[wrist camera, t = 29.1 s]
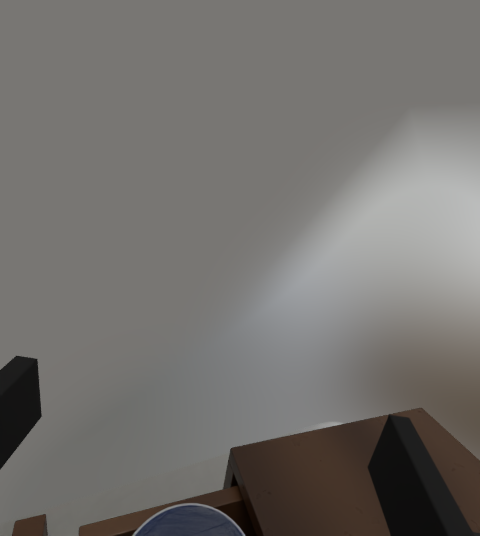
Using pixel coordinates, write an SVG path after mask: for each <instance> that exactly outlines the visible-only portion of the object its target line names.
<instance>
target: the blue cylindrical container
mask: <svg viewBox="0 0 480 536" xmlns="http://www.w3.org/2000/svg"><path fill="white" fill-rule="evenodd" d="M132 536H245V534H244V533H243V531H242V530H241V528H240V527H239V526H238V525H237V524H236V523H235V522H234V521H233V520H232V519H231V518H230V517H229V516H227V515H226V514H224V513H223V512H221V511H220V510H218V509H215V508H213V507H210V506H207V505H203V504H198V503H185V504H178V505H174V506H171V507H168V508H166V509H163V510H161V511H160V512H158V513H156V514H155V515H153V516H152V517H150V518H149V519H148V520H146V521H145V522H144V523H143V524H142V525H141V526H140V527H139V528H138V529H137V530H136V531H135V533H134V534H133V535H132Z"/></svg>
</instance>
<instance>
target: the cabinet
mask: <svg viewBox="0 0 480 536" xmlns="http://www.w3.org/2000/svg"><path fill="white" fill-rule="evenodd" d="M389 415H396V416H402V417H408V418H410V420H411V422H412V424H413V425H414V427H415V429H416V431H417V433H418V434H419V436H420V438H421V440H422V442H423V443H424V445H425V447H426V449H427V451H428V452H429V454H430V456H431V458H432V460H433V461H434V463H435V465H436V467H437V469H438V470H439V472H440V474H441V476H442V478H443V479H444V481H445V483H446V485H447V487H448V489H449V490H450V492H451V494H452V496H453V498H454V499H455V501H456V503H457V505H458V507H459V508H460V510H461V512H462V514H463V516H464V517H465V519H466V521H467V523H468V525H469V526H470V528H471V530H472V532H476V533H480V460H478V459H477V458H476V457H475V456H474V455H473V454H472V453H471V452H470V451H469V450H467V449H466V448H465V447H464V446H463V445H462V444H461V443H460V442H459V441H458V440H457V439H455V438H454V437H453V436H452V435H451V434H450V433H449V432H448V431H447V430H446V429H444V428H443V427H442V426H441V425H440V424H439V423H438V422H437V421H436V420H435V419H433V418H432V417H431V416H430V415H429V414H428V413H427V412H426V411H425V410H424V409H423V408H417V409H412V410H408V411H403V412H398V413H393V414H389ZM389 415H384V416H379V417H375V418H370V419H365V420H360V421H356V422H351V423H346V424H342V425H337V426H332V427H327V428H323V429H318V430H313V431H309V432H304V433H299V434H294V435H290V436H285V437H280V438H276V439H271V440H266V441H261V442H257V443H252V444H248V445H243V446H239V447H233V448H231V449H230V455H229V460H228V465H227V470H226V476H225V481H224V487H223V489H227V488H231V487H235V486H239V489H240V491H241V494H242V497H243V500H244V502H245V505H246V508H247V511H248V513H249V516H250V519H251V522H252V524H253V527H254V530H255V533H256V535H257V536H391V535H390V532H389V529H388V526H387V523H386V520H385V517H384V514H383V511H382V508H381V505H380V502H379V499H378V497H377V494H376V491H375V488H374V485H373V482H372V479H371V476H370V473H369V470H368V465H369V462H370V460H371V457H372V455H373V452H374V450H375V447H376V445H377V443H378V440H379V438H380V435H381V433H382V430H383V428H384V425H385V423H386V421H387V418H388V416H389Z"/></svg>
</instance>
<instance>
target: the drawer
mask: <svg viewBox="0 0 480 536" xmlns="http://www.w3.org/2000/svg"><path fill="white" fill-rule="evenodd" d="M185 503H198V504H203V505H207V506H210V507H213V508H215V509H218V510H220V511H221V512H223V513H224V514H226V515H227V516H229V517H230V518H231V519H232V520H233V521H234V522H235V523H236V524H237V525H238V526H239V527H240V528H241V530H242V531H243V533H244V534H245V536H257V535H256V533H255V530H254V527H253V524H252V522H251V519H250V516H249V513H248V511H247V508H246V505H245V502H244V500H243V497H242V494H241V491H240V489H239V486H235V487H231V488H227V489H223V490H219V491H215V492H212V493H208V494H204V495H200V496H196V497H192V498H188V499H185V500H181V501H177V502H173V503H169V504H165V505H161V506H158V507H154V508H150V509H146V510H142V511H138V512H134V513H131V514H127V515H123V516H119V517H115V518H111V519H107V520H104V521H100V522H96V523H92V524H88V525H84V526H81V527H80V528H79V536H132V535H133V534H134V533H135V531H136V530H137V529H138V528H139V527H140V526H141V525H142V524H143V523H144V522H145V521H146V520H148V519H149V518H150V517H152V516H153V515H155V514H156V513H158V512H160V511H161V510H163V509H166V508H168V507H171V506H174V505H178V504H185ZM12 536H48V532H47V521H46V514H43V515H39V516H35V517H30V518H26V519H22V520H18V521H16V522H15V524H14V529H13V533H12Z"/></svg>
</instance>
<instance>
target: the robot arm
mask: <svg viewBox="0 0 480 536" xmlns="http://www.w3.org/2000/svg"><path fill="white" fill-rule="evenodd" d="M37 364H38V362H37V359H34V358H28V357H21V356H16V357H14V359H12V360H11V361H10V362H9V363H8V364H7V365H6V366H4V367H3V368H2V369H1V370H0V469H1V468H2V467H3V465H4V464H5V463H6V461H7V460H8V459H9V458H10V456H11V455H12V454H13V452H14V451H15V450H16V449H17V447H18V446H19V445H20V443H21V442H22V441H23V440H24V438H25V437H26V436H27V434H28V433H29V432H30V431H31V429H32V428H33V427H34V426H35V424H36V423H37V421H38V420H39V419H40V418H41V403H40V390H39V376H38V365H37ZM368 470H369V473H370V476H371V479H372V482H373V485H374V488H375V491H376V494H377V497H378V499H379V502H380V505H381V508H382V511H383V514H384V517H385V520H386V523H387V526H388V529H389V532H390V535H391V536H480V533H476V532H472V530H471V528H470V526H469V525H468V523H467V521H466V519H465V517H464V516H463V514H462V512H461V510H460V508H459V507H458V505H457V503H456V501H455V499H454V498H453V496H452V494H451V492H450V490H449V489H448V487H447V485H446V483H445V481H444V479H443V478H442V476H441V474H440V472H439V470H438V469H437V467H436V465H435V463H434V461H433V460H432V458H431V456H430V454H429V452H428V451H427V449H426V447H425V445H424V443H423V442H422V440H421V438H420V436H419V434H418V433H417V431H416V429H415V427H414V425H413V424H412V422H411V420H410V418H408V417H402V416H396V415H389V416H388V418H387V421H386V423H385V425H384V428H383V430H382V433H381V435H380V438H379V440H378V443H377V445H376V447H375V450H374V452H373V455H372V457H371V460H370V462H369V465H368Z"/></svg>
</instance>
